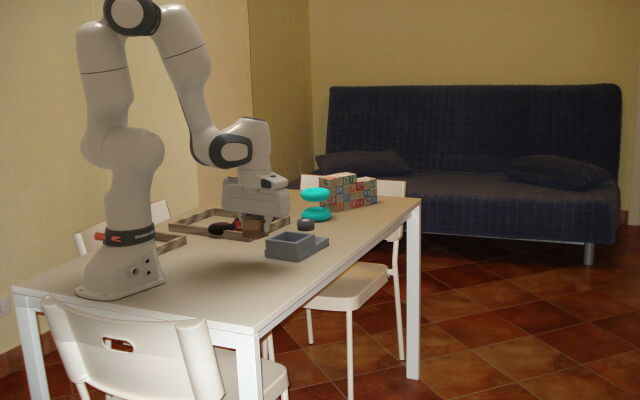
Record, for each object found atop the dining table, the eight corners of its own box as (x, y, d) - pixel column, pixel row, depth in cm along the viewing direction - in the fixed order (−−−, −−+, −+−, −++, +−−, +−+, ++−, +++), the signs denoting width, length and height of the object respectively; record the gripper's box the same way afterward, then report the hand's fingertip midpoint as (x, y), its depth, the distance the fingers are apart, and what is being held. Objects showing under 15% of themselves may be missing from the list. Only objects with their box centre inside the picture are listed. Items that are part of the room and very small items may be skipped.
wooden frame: (151, 258, 184) (150, 249, 184) (103, 250, 193) (102, 241, 193) (186, 243, 197) (186, 235, 196) (140, 236, 206) (139, 229, 205)
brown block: (257, 239, 171) (257, 218, 170) (242, 237, 174) (242, 216, 173) (268, 235, 176) (268, 215, 175) (253, 233, 178) (253, 213, 177)
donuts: (333, 191, 214) (304, 194, 212) (334, 220, 217) (305, 223, 214) (325, 185, 224) (297, 188, 221) (326, 213, 226) (298, 216, 224)
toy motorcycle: (204, 240, 203) (248, 236, 196) (201, 224, 202) (244, 219, 195) (246, 222, 225) (287, 218, 218) (243, 208, 224) (284, 203, 217)
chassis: (298, 261, 176) (297, 243, 175) (264, 256, 182) (263, 239, 180) (329, 244, 190) (328, 228, 189) (297, 240, 196) (296, 224, 195)
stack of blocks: (367, 200, 243) (366, 168, 241) (377, 203, 238) (377, 170, 235) (319, 210, 232) (318, 176, 229) (329, 213, 227) (328, 178, 224)
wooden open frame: (249, 241, 196) (248, 233, 196) (168, 230, 212) (168, 223, 211) (290, 223, 215) (289, 215, 215) (213, 214, 231) (213, 207, 231)
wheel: (309, 232, 186) (308, 223, 185) (294, 230, 188) (293, 221, 188) (317, 227, 190) (317, 218, 189) (303, 226, 192) (302, 217, 192)
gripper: (215, 177, 174) (216, 228, 177) (280, 183, 164) (280, 237, 167) (230, 174, 180) (231, 223, 182) (293, 180, 170) (293, 232, 172)
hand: (255, 230), depth 174 cm, fingers closed on brown block, 5 cm apart
